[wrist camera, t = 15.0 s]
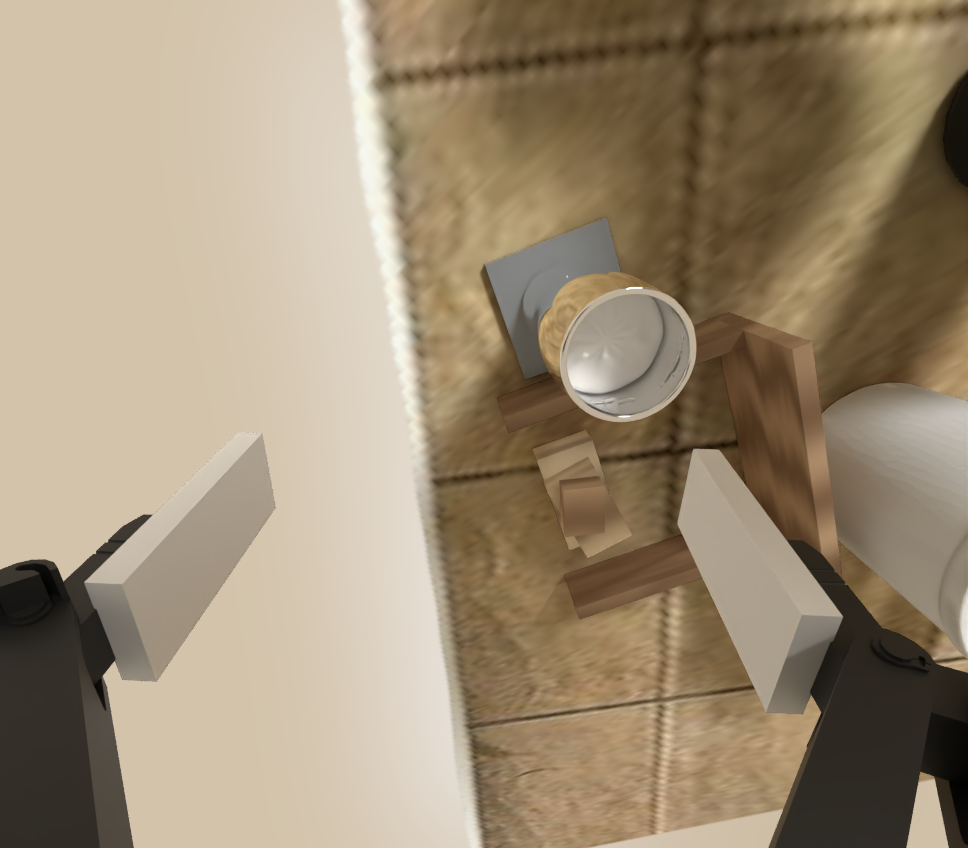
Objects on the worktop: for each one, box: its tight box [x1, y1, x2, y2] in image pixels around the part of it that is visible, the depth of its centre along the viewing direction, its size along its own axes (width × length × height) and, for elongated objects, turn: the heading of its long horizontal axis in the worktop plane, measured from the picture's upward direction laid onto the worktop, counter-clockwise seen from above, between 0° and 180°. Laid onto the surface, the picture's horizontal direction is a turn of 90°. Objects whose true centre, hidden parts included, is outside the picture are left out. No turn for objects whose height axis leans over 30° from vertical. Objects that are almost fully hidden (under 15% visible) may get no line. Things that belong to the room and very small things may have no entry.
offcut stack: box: [533, 430, 632, 558], centre depth 43 cm, size 9×5×6 cm, turn 20°
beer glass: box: [522, 263, 697, 422], centre depth 32 cm, size 7×7×15 cm
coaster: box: [484, 218, 621, 380], centre depth 39 cm, size 9×9×1 cm
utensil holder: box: [821, 383, 968, 659], centre depth 38 cm, size 15×15×18 cm
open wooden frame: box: [498, 312, 842, 619], centre depth 40 cm, size 19×19×10 cm
